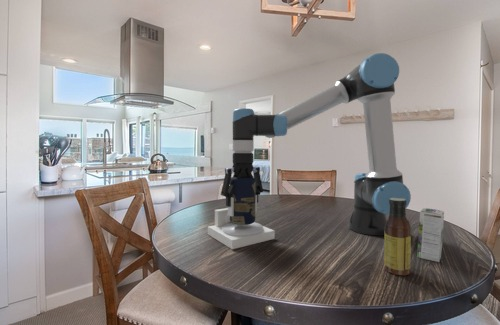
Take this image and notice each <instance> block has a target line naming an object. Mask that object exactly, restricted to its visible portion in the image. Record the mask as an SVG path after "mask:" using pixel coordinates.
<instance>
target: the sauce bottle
mask: <svg viewBox="0 0 500 325" xmlns="http://www.w3.org/2000/svg"><path fill="white" fill-rule="evenodd" d="M389 204H390V212H389V215H388V217H387V222H386V225H385V232H384V233H385V235H384V249H383V250H384V256H383V258H384V259H383V260H384V262H383V264H384V265H385V266H384V268H385V270H386V271H387V272H389V274H390V273H391V274H392V275H395V276H408V275H410V273H411V268H412V267H411V266H412V264H411V263H412V261H411V260H412V258H411V257H412V253H411V252H412V249H411V247H412V234H411V224H410V221H409V220H408V219H407V217H406V216H407V214H406V209H405V206H406V204H407V203H406V199H403V198H390V199H389Z"/></svg>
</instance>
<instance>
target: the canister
mask: <svg viewBox="0 0 500 325" xmlns="http://www.w3.org/2000/svg"><path fill="white" fill-rule="evenodd" d="M230 184H231V185H234V192H233V195H232V198H234V216H230V222H231V223H233V224H236V225H249V224H252V223H254V222H255V223H256V212H255V200H256V183H255V178H254V176H253V177H249V176H248V177H246V178H238V179H237V178H232V177H231V181H230Z"/></svg>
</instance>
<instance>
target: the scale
mask: <svg viewBox="0 0 500 325" xmlns="http://www.w3.org/2000/svg"><path fill="white" fill-rule="evenodd" d="M275 232H276V231H275V229H272V228H270V227H267V226H264V225H262V224H261V223H258V222H256V221H255V222H254V223H252V224H249V225H236V224H233V223H231V222H230V216H229V215H228V207H225V208H220V209H219V208H218V209H214V225H209V226H207V235H208V236H210V237H211V238H213V239H215V240H216V241H218V242H219V243H221V244H223V245H225V247H228V248H229V249H231V250H235V249H239V248H243V247H247V246H251V245H256V244H259V243H262V242H267V241H270V240H275V239H276V238H275V234H276V233H275Z"/></svg>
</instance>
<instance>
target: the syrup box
mask: <svg viewBox="0 0 500 325" xmlns="http://www.w3.org/2000/svg"><path fill="white" fill-rule="evenodd" d="M444 219H445V211H444V210H440V209H439V210H438V209H436V208H427V207H426V208H422V209H421V210H420V211H419V222H418V223H419V224H418V235H417V237H418V238H417V252H416V253H417V254H416V257H417V258H419V259H422V260H427V261H432V262H436V263H441V262H440V261H441V258H442V250H443V249H442V248H443V237H444V236H443V235H444V221H445V220H444Z"/></svg>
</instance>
